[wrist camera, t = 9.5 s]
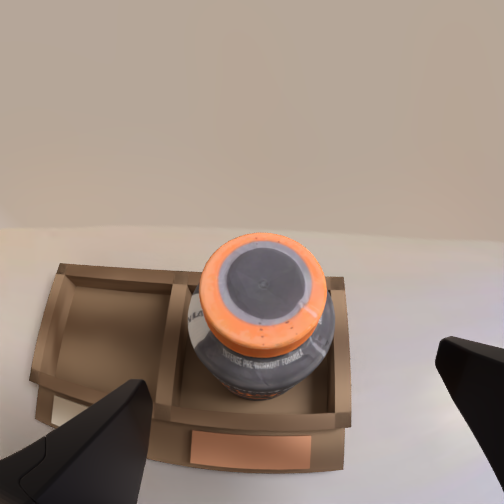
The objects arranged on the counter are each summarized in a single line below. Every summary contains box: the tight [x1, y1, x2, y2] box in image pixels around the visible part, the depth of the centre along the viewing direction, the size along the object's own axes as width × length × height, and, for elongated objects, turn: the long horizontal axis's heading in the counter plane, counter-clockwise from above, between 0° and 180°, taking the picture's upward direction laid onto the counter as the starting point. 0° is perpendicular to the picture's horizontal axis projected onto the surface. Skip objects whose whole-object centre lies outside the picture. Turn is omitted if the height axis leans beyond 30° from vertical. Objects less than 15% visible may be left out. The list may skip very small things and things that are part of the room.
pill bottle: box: [188, 233, 335, 401], centre depth 13 cm, size 6×6×11 cm
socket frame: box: [29, 263, 351, 474], centre depth 17 cm, size 13×22×2 cm, turn 87°
